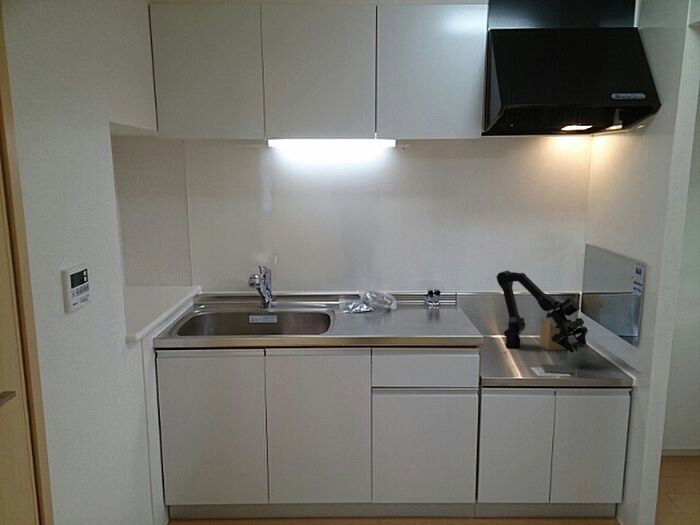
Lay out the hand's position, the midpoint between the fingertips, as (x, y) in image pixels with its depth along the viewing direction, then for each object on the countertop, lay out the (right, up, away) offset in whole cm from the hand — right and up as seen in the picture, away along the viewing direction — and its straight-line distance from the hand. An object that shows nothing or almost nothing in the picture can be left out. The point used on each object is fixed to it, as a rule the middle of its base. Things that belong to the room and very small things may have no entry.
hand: (580, 350), depth 225 cm
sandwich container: (+1, -3, +27) cm, 27 cm away
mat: (-12, -8, -3) cm, 14 cm away
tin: (0, -7, +2) cm, 8 cm away
